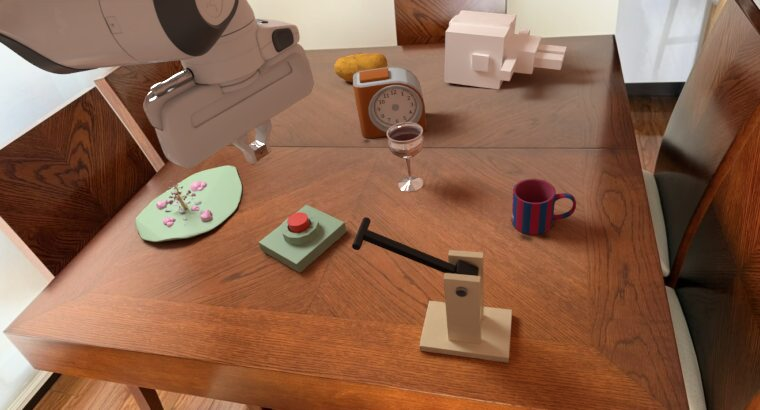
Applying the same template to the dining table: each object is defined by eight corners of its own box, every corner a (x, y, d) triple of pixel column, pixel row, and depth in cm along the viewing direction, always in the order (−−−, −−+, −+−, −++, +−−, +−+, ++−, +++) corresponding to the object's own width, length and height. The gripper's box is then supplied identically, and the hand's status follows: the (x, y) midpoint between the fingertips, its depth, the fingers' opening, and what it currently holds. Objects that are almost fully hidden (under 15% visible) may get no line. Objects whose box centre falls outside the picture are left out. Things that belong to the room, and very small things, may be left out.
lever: (349, 251, 62) (354, 239, 60) (360, 224, 66) (365, 212, 64) (468, 299, 62) (476, 289, 61) (472, 270, 66) (480, 259, 64)
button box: (299, 273, 84) (293, 256, 82) (261, 251, 90) (255, 234, 87) (346, 231, 91) (342, 214, 88) (308, 213, 96) (304, 196, 94)
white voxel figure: (550, 111, 116) (434, 94, 125) (564, 64, 133) (461, 52, 142) (561, 50, 106) (435, 37, 115) (575, 8, 123) (464, -1, 132)
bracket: (419, 350, 70) (410, 284, 61) (429, 305, 75) (422, 239, 67) (508, 363, 66) (512, 295, 58) (512, 314, 72) (515, 246, 63)
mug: (514, 207, 90) (516, 176, 85) (574, 214, 86) (579, 183, 82) (508, 232, 85) (509, 201, 81) (571, 241, 82) (575, 209, 77)
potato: (340, 75, 142) (335, 51, 138) (390, 71, 139) (387, 47, 135) (335, 87, 137) (330, 62, 132) (387, 83, 134) (384, 58, 130)
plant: (172, 170, 115) (156, 137, 109) (258, 165, 112) (245, 131, 106) (118, 248, 96) (95, 212, 90) (219, 245, 93) (202, 208, 87)
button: (299, 236, 86) (297, 228, 85) (285, 228, 88) (283, 221, 87) (314, 223, 88) (311, 216, 87) (300, 217, 90) (297, 209, 89)
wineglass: (407, 199, 96) (400, 146, 88) (387, 183, 100) (379, 132, 93) (435, 184, 98) (430, 131, 90) (414, 169, 103) (408, 118, 95)
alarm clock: (362, 140, 114) (351, 85, 105) (361, 121, 120) (352, 68, 112) (427, 131, 113) (422, 75, 104) (423, 113, 120) (418, 59, 111)
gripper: (153, 100, 47) (205, 212, 55) (308, 21, 58) (331, 125, 66) (120, 87, 50) (175, 195, 59) (272, 15, 61) (299, 114, 70)
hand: (259, 157), depth 63 cm, fingers closed
